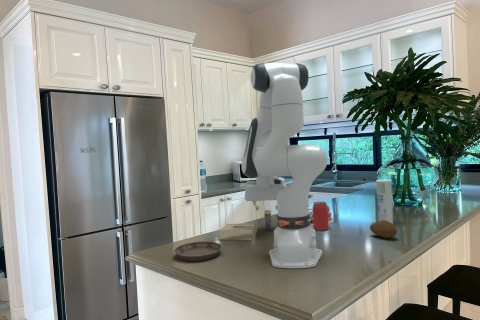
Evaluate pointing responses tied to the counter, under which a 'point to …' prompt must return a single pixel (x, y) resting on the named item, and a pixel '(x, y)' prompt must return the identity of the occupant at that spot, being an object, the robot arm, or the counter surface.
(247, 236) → the block
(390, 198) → the spray can
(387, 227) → the potato
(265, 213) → the grey and gold cylinder
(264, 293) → the counter surface
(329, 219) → the candy landscape model
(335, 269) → the counter surface
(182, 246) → the plant saucer
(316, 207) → the beer can
